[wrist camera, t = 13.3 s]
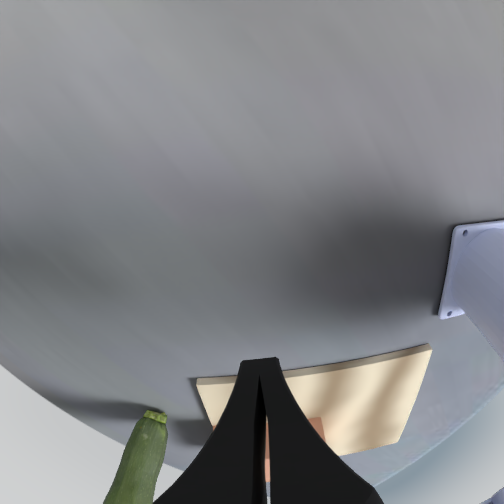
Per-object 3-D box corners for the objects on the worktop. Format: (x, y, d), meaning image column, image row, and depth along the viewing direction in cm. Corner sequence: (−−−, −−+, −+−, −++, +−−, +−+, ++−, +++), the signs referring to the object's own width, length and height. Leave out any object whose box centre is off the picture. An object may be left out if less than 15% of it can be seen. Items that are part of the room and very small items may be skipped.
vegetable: (164, 429, 28) (137, 604, 10) (125, 414, 27) (83, 589, 9) (178, 410, 27) (151, 610, 8) (135, 393, 26) (87, 594, 8)
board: (428, 343, 24) (444, 368, 21) (396, 436, 31) (403, 457, 28) (197, 378, 25) (192, 409, 22) (230, 462, 31) (230, 485, 28)
